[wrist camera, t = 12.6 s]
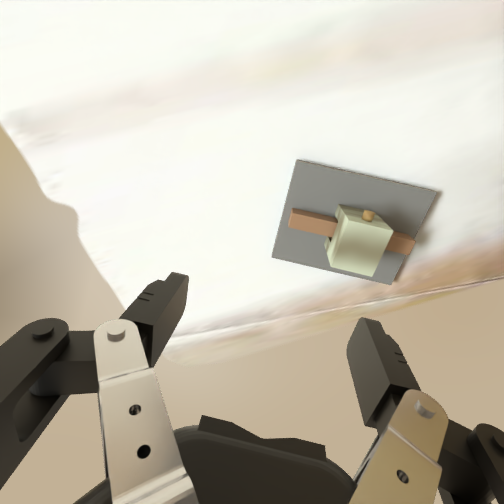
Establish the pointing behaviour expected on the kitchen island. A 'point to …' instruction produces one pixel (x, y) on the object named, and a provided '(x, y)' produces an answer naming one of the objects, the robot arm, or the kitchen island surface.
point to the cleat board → (353, 195)
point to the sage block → (357, 240)
